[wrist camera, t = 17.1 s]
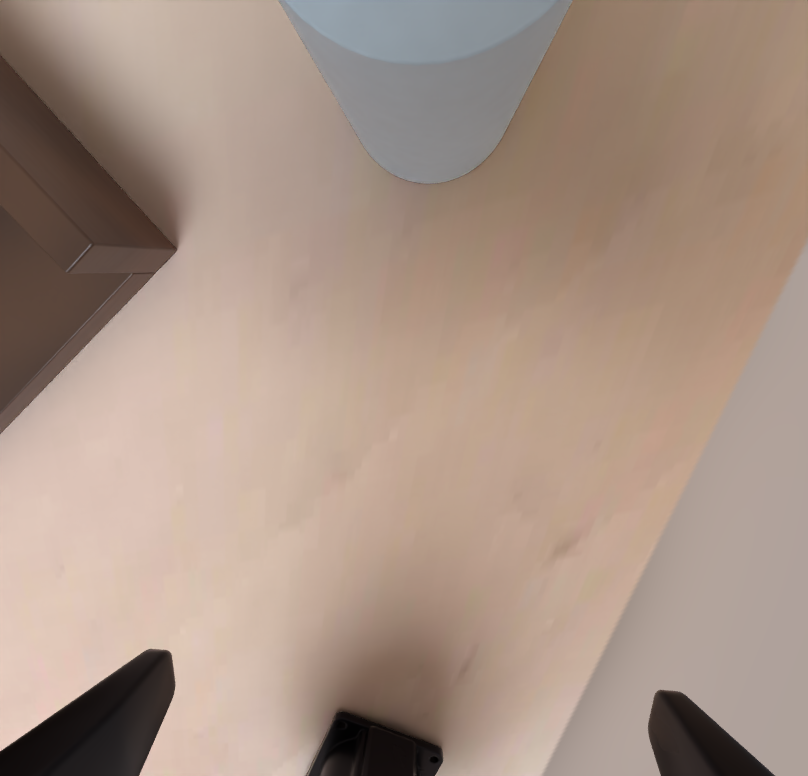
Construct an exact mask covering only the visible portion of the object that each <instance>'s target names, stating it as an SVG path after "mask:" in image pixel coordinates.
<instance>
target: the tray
mask: <svg viewBox="0 0 808 776" xmlns="http://www.w3.org/2000/svg"><path fill="white" fill-rule="evenodd" d="M175 252H176V248H175V247H174V246H173V245H172V244H171V243H170V242H169V241H168V240H167V238H166V237H165V236H164V235H163V234H162V233H161V232H160V231H159V230H158V229H157V227H156V226H155V225H154V224H153V223H152V222H151V221H150V220H149V219H148V218H147V216H146V215H145V214H144V213H143V212H142V211H141V210H140V209H139V208H138V206H137V205H136V204H135V203H134V202H133V201H132V200H131V199H130V198H129V197H128V195H127V194H126V193H125V192H124V191H123V190H122V189H121V188H120V187H119V186H118V184H117V183H116V182H115V181H114V180H113V179H112V178H111V177H110V176H109V175H108V173H107V172H106V171H105V170H104V169H103V168H102V167H101V166H100V165H99V164H98V162H97V161H96V160H95V159H94V158H93V157H92V156H91V155H90V154H89V153H88V151H87V150H86V149H85V148H84V147H83V146H82V145H81V144H80V143H79V142H78V140H77V139H76V138H75V137H74V136H73V135H72V134H71V133H70V132H69V131H68V129H67V128H66V127H65V126H64V125H63V124H62V123H61V122H60V121H59V120H58V118H57V117H56V116H55V115H54V114H53V113H52V112H51V111H50V110H49V109H48V107H47V106H46V105H45V104H44V103H43V102H42V101H41V100H40V99H39V98H38V96H37V95H36V94H35V93H34V92H33V91H32V90H31V89H30V88H29V87H28V85H27V84H26V83H25V82H24V81H23V80H22V79H21V78H20V77H19V75H18V74H17V73H16V72H15V71H14V70H13V69H12V68H11V67H10V66H9V64H8V63H7V62H6V61H5V60H4V59H3V58H2V57H1V56H0V433H1V432H2V431H3V430H4V429H5V428H6V427H7V426H8V425H9V424H10V423H11V422H12V421H13V420H14V419H15V418H16V417H17V416H18V415H19V414H20V413H21V412H22V410H23V409H24V408H25V407H26V406H27V405H28V404H29V403H30V402H31V401H32V400H33V399H34V398H35V397H36V396H37V395H38V394H39V393H40V392H41V391H42V390H43V389H44V388H45V387H46V386H47V385H48V384H49V383H50V381H51V380H52V379H53V378H54V377H55V376H56V375H57V374H58V373H59V372H60V371H61V370H62V369H63V368H64V367H65V366H66V365H67V364H68V363H69V362H70V361H71V360H72V359H73V358H74V357H75V356H76V355H77V354H78V353H79V351H80V350H81V349H82V348H83V347H84V346H85V345H86V344H87V343H88V342H89V341H90V340H91V339H92V338H93V337H94V336H95V335H96V334H97V333H98V332H99V331H100V330H101V329H102V328H103V327H104V326H105V325H106V324H107V322H108V321H109V320H110V319H111V318H112V317H113V316H114V315H115V314H116V313H117V312H118V311H119V310H120V309H121V308H122V307H123V306H124V305H125V304H126V303H127V302H128V301H129V300H130V299H131V298H132V297H133V296H134V295H135V293H136V292H137V291H138V290H139V289H140V288H141V287H142V286H143V285H144V284H145V283H146V282H147V281H148V280H149V279H150V278H151V277H152V276H153V275H154V272H156V271H157V270H158V269H159V268H160V267H161V266H162V265H163V264H164V263H165V262H166V261H167V260H168V259H169V258H170V257H171V256H172V255H173V254H174V253H175Z"/></svg>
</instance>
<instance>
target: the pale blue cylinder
mask: <svg viewBox="0 0 808 776" xmlns="http://www.w3.org/2000/svg"><path fill="white" fill-rule="evenodd" d="M572 1H573V0H279V2H280V4H281V6H282V7H283V9H284V11H285V12H286V14H287V16H288V18H289V19H290V21H291V23H292V25H293V26H294V28H295V30H296V31H297V33H298V35H299V37H300V38H301V40H302V42H303V43H304V45H305V47H306V49H307V50H308V52H309V54H310V55H311V57H312V59H313V61H314V62H315V64H316V66H317V68H318V69H319V71H320V73H321V74H322V76H323V78H324V80H325V81H326V83H327V85H328V86H329V88H330V90H331V92H332V93H333V95H334V97H335V99H336V100H337V102H338V104H339V105H340V107H341V109H342V111H343V112H344V114H345V116H346V117H347V119H348V121H349V123H350V124H351V126H352V128H353V129H354V131H355V133H356V135H357V136H358V138H359V140H360V142H361V143H362V145H363V147H364V148H365V150H366V151H367V152H368V153H369V155H370V156H371V157H372V158H373V159H374V160H375V161H376V162H377V163H378V164H379V165H380V166H381V167H383V168H384V169H385V170H386V171H388V172H390V173H391V174H393V175H395V176H397V177H399V178H402V179H404V180H407V181H411V182H415V183H424V184H433V183H442V182H447V181H450V180H453V179H456V178H459V177H461V176H463V175H465V174H467V173H469V172H470V171H472V170H473V169H475V168H476V167H477V166H479V165H480V164H481V163H482V162H483V161H484V160H485V159H486V158H487V157H488V156H489V155H490V154H491V153H492V152H493V151H494V149H495V148H496V146H497V145H498V143H499V142H500V140H501V138H502V137H503V135H504V133H505V131H506V129H507V127H508V125H509V123H510V121H511V119H512V117H513V115H514V114H515V112H516V110H517V108H518V106H519V104H520V102H521V100H522V98H523V96H524V94H525V92H526V90H527V88H528V86H529V84H530V82H531V81H532V79H533V77H534V75H535V73H536V71H537V69H538V67H539V65H540V63H541V61H542V59H543V57H544V55H545V53H546V51H547V50H548V48H549V46H550V44H551V42H552V40H553V38H554V36H555V34H556V32H557V30H558V28H559V26H560V24H561V22H562V20H563V18H564V17H565V15H566V13H567V11H568V9H569V7H570V5H571V3H572Z"/></svg>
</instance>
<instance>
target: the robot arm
mask: <svg viewBox="0 0 808 776" xmlns="http://www.w3.org/2000/svg"><path fill="white" fill-rule="evenodd" d="M174 691H175V676H174V668H173V660H172V655H171V653H170V652H169V651H167V650H159V649H149V650H146V651H144V652H143V653H141V654H140V655H138V656H137V657H135V658H134V659H133V660H131V661H130V662H128V663H127V664H125V665H124V666H122V667H121V668H120V669H118V670H117V671H115V672H114V673H112V674H111V675H110V676H108V677H107V678H105V679H104V680H102V681H101V682H99V683H98V684H97V685H95V686H94V687H92V688H91V689H89V690H88V691H87V692H85V693H84V694H82V695H81V696H79V697H78V698H76V699H75V700H74V701H72V702H71V703H69V704H68V705H66V706H65V707H64V708H62V709H61V710H59V711H58V712H56V713H55V714H53V715H52V716H51V717H49V718H48V719H46V720H45V721H43V722H42V723H41V724H39V725H38V726H36V727H35V728H33V729H32V730H30V731H29V732H28V733H26V734H25V735H23V736H22V737H20V738H19V739H17V740H16V741H15V742H13V743H12V744H10V745H9V746H7V747H6V748H5V749H3V750H2V751H0V776H139V775H140V772H141V770H142V768H143V765H144V763H145V761H146V759H147V756H148V754H149V752H150V749H151V747H152V745H153V742H154V740H155V738H156V735H157V733H158V731H159V729H160V726H161V724H162V722H163V719H164V717H165V715H166V712H167V710H168V708H169V705H170V703H171V701H172V698H173V695H174ZM648 733H649V738H650V742H651V745H652V749H653V751H654V755H655V758H656V762H657V764H658V768H659V771H660V774H661V776H775V775H774V774H772V773H771V772H770V771H769V770H768V769H767V768H766V767H765V766H764V765H763V764H761V763H760V762H759V761H758V760H757V759H756V758H755V757H754V756H753V755H751V754H750V753H749V752H748V751H747V750H746V749H745V748H744V747H742V746H741V745H740V744H739V743H738V742H737V741H736V740H734V738H733V737H731V736H730V735H729V734H728V733H727V732H726V731H725V730H724V729H722V728H721V727H720V726H719V725H718V724H717V723H716V722H715V721H714V720H713V719H711V718H710V717H709V716H708V715H707V714H706V713H705V712H704V711H703V710H701V709H700V708H699V707H698V706H697V705H696V704H695V703H694V702H692V701H691V700H690V699H689V698H688V697H687V696H686V695H684V694H683V693H681V692H678V691H666V690H659V691H657V692H656V693H655V696H654V700H653V704H652V709H651V714H650V718H649V723H648ZM442 762H443V752H442V749H441V748H439V747H438V746H435V745H433V744H430V743H427V742H424V741H422V740H419V739H416V738H414V737H411V736H408V735H406V734H403V733H400V732H398V731H395V730H392V729H390V728H387V727H384V726H382V725H379V724H376V723H374V722H371V721H368V720H365V719H363V718H360V717H357V716H355V715H352V714H349V713H347V712H338V713H336V715H335V716H334V718H333V720H332V723H331V725H330V727H329V729H328V731H327V733H326V735H325V738H324V740H323V742H322V744H321V746H320V748H319V750H318V752H317V755H316V757H315V759H314V761H313V763H312V765H311V767H310V770H309V772H308V774H307V776H435V775H436V773H437V771H438V769H439V768H440V766H441V764H442Z"/></svg>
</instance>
